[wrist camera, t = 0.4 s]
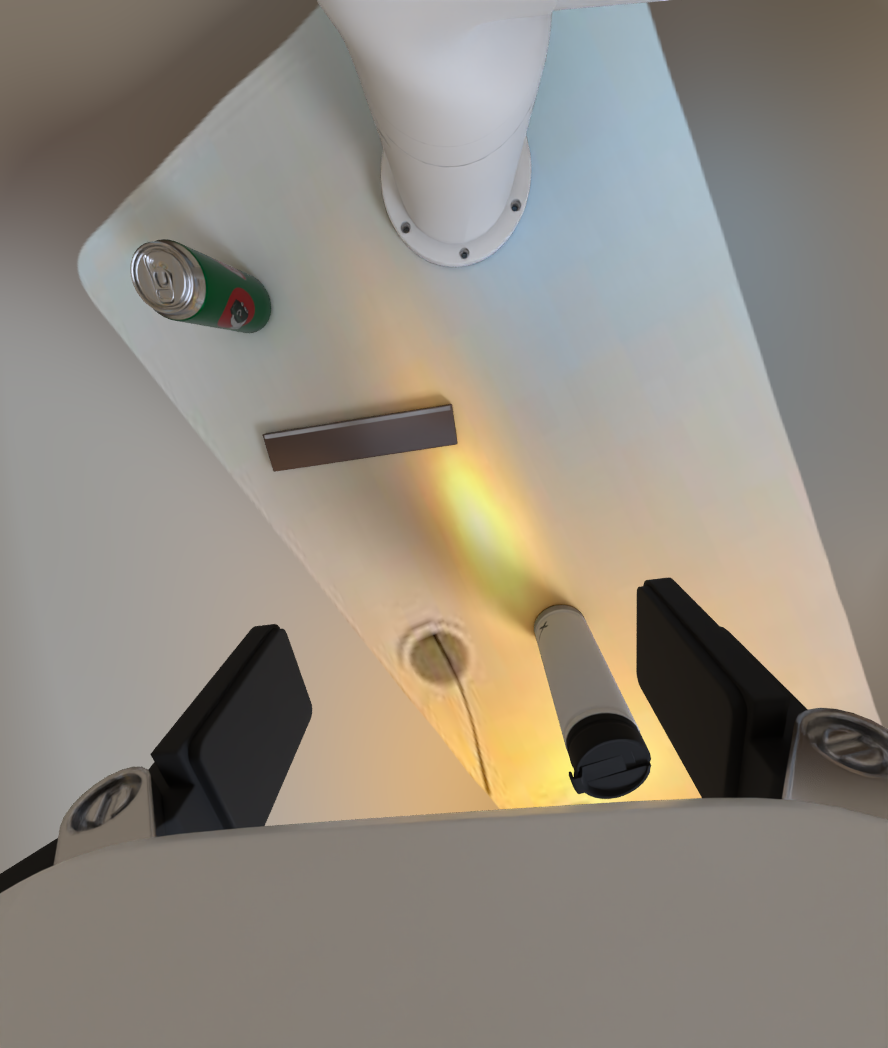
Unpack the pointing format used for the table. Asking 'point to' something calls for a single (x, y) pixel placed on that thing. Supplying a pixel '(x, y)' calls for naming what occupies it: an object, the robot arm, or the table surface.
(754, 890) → the robot arm
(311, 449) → the ruler
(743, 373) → the table surface
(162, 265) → the soda can
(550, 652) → the travel mug
